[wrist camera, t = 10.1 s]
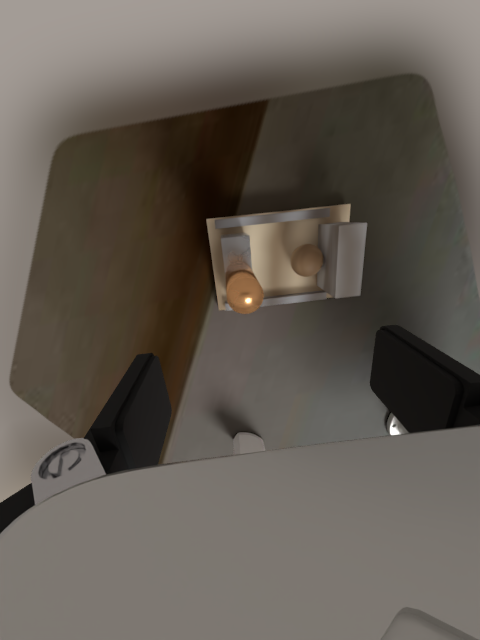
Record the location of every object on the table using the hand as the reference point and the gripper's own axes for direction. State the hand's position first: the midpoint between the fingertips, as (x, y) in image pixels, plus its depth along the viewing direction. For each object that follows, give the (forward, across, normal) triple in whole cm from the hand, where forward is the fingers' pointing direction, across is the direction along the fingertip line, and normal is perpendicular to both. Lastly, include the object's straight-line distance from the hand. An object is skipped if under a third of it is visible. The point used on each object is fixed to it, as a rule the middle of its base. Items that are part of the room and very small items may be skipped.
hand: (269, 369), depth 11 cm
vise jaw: (+24, 0, 0) cm, 24 cm away
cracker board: (+26, -6, 0) cm, 26 cm away
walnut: (+24, -8, 0) cm, 25 cm away
